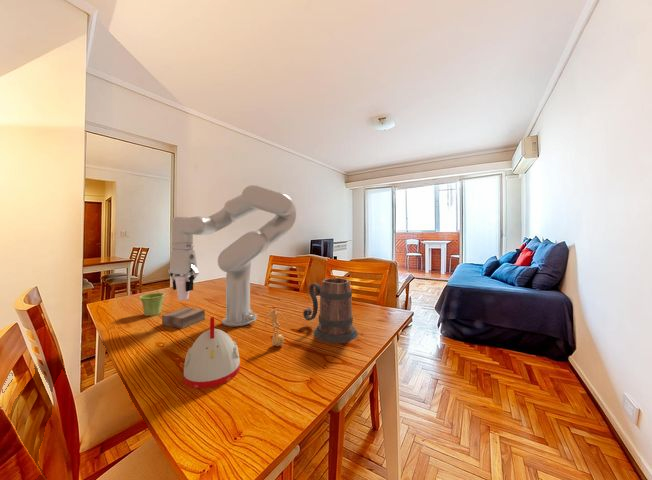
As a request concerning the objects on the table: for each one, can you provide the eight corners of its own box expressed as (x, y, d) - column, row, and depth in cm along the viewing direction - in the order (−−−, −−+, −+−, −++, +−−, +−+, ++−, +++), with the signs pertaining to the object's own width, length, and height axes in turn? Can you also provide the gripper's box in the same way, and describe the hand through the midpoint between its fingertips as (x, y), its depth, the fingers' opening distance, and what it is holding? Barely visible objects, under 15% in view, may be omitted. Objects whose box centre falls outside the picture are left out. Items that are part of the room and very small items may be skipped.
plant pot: (169, 313, 117) (168, 294, 117) (145, 319, 109) (145, 299, 109) (159, 309, 122) (158, 291, 122) (136, 315, 114) (135, 296, 114)
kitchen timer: (180, 394, 60) (179, 331, 59) (186, 365, 72) (185, 313, 72) (242, 380, 65) (241, 323, 64) (237, 355, 78) (237, 307, 77)
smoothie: (184, 301, 101) (183, 267, 101) (170, 300, 103) (170, 266, 102) (195, 297, 108) (195, 265, 107) (182, 296, 109) (182, 264, 108)
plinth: (204, 319, 109) (204, 310, 109) (183, 328, 99) (182, 318, 98) (185, 316, 113) (185, 307, 112) (162, 325, 102) (162, 315, 102)
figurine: (270, 352, 80) (270, 314, 79) (260, 346, 84) (260, 310, 84) (291, 343, 86) (291, 308, 85) (280, 338, 90) (280, 305, 90)
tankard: (365, 330, 97) (366, 279, 96) (343, 347, 83) (343, 287, 83) (317, 318, 111) (317, 273, 110) (290, 331, 97) (290, 279, 96)
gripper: (206, 247, 105) (206, 289, 106) (174, 245, 111) (175, 286, 111) (191, 248, 98) (191, 293, 99) (158, 246, 104) (159, 290, 104)
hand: (183, 289), depth 105 cm, fingers closed on smoothie, 6 cm apart
